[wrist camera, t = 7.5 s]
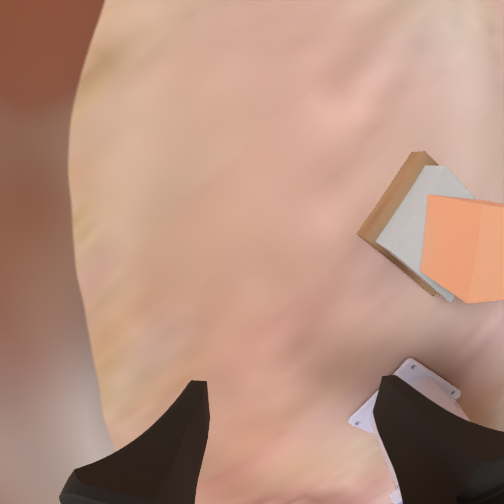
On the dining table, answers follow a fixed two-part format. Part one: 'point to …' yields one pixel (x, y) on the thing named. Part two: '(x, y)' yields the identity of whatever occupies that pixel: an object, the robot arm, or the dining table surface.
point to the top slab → (419, 221)
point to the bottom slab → (391, 204)
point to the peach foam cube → (465, 247)
